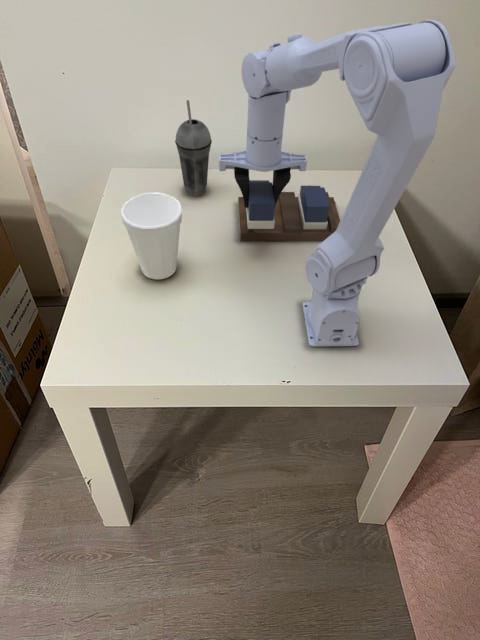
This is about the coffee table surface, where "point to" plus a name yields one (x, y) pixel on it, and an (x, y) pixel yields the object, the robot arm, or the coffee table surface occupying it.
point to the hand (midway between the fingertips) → (259, 204)
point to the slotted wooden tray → (287, 222)
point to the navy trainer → (260, 205)
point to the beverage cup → (193, 154)
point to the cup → (154, 231)
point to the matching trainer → (313, 207)
